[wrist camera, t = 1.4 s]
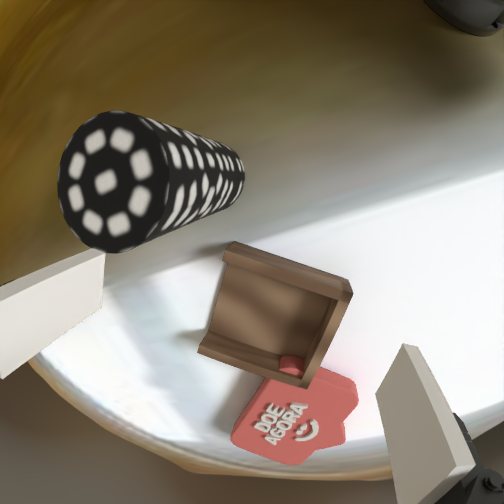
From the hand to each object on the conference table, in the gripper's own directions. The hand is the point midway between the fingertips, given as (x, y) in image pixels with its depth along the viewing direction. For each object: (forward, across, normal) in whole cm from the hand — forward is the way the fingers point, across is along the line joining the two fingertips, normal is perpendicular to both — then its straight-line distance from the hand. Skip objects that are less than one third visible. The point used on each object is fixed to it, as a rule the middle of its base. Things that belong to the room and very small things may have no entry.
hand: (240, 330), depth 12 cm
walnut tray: (+24, +2, -10) cm, 26 cm away
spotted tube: (+24, -10, +4) cm, 26 cm away
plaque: (+24, +10, -24) cm, 35 cm away
